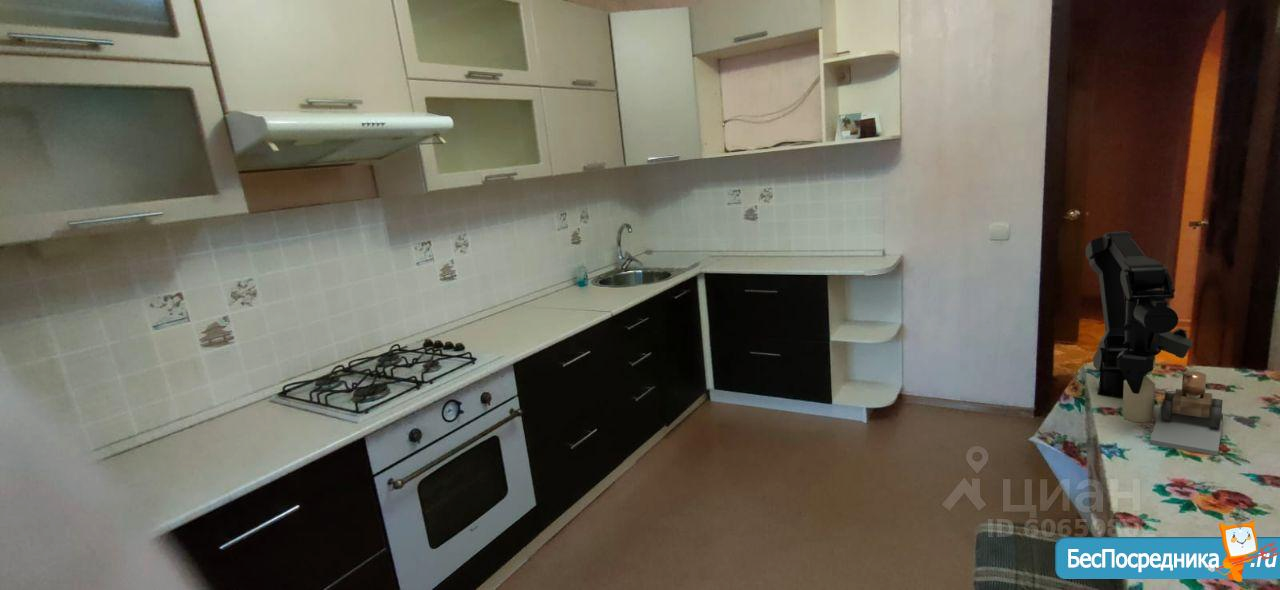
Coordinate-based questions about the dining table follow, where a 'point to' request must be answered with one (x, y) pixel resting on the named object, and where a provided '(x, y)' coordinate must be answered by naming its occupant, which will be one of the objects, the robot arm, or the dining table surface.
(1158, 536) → the dining table surface
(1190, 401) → the trolley
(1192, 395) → the stop pin
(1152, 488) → the dining table surface
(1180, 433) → the ramp board
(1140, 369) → the robot arm
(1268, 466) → the dining table surface
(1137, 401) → the candle
